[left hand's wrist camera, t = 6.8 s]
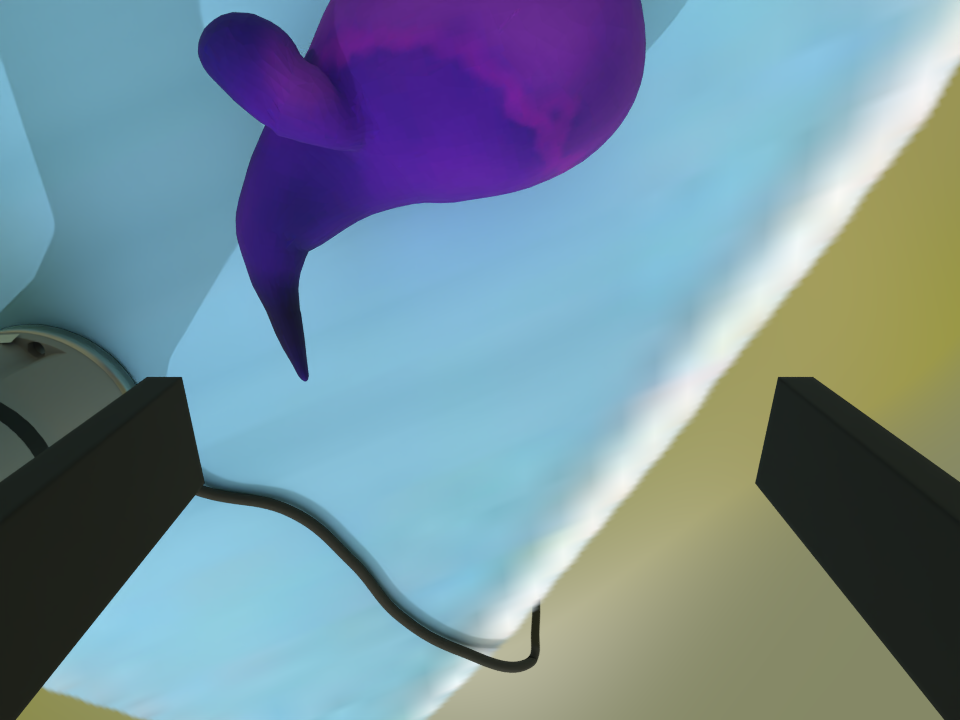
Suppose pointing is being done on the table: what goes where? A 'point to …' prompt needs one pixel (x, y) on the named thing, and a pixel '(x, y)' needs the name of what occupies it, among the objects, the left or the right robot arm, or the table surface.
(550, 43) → the toy
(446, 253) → the table surface
